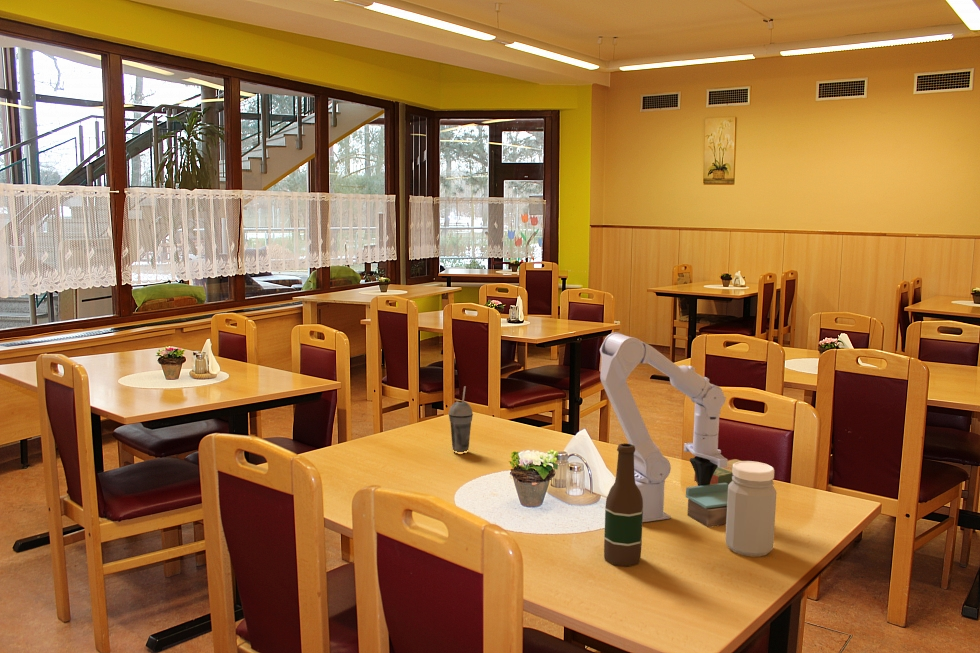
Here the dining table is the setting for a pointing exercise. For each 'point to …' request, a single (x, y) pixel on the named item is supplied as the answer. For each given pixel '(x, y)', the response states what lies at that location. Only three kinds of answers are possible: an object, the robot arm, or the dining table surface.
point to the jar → (751, 509)
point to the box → (707, 514)
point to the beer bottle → (624, 513)
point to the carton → (723, 473)
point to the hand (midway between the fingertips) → (703, 488)
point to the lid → (709, 495)
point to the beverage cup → (460, 424)
